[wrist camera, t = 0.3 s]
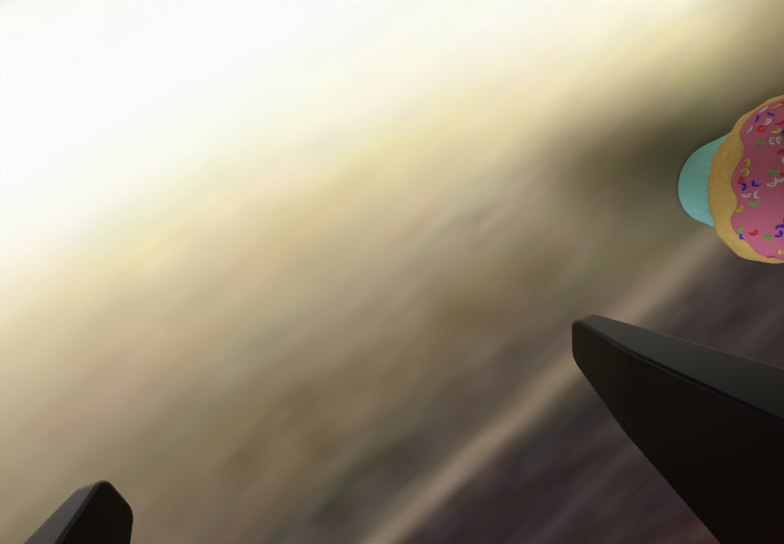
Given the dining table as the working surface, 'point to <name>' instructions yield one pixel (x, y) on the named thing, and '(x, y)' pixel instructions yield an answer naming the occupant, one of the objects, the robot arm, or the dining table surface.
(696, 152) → the cupcake
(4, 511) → the dining table surface
